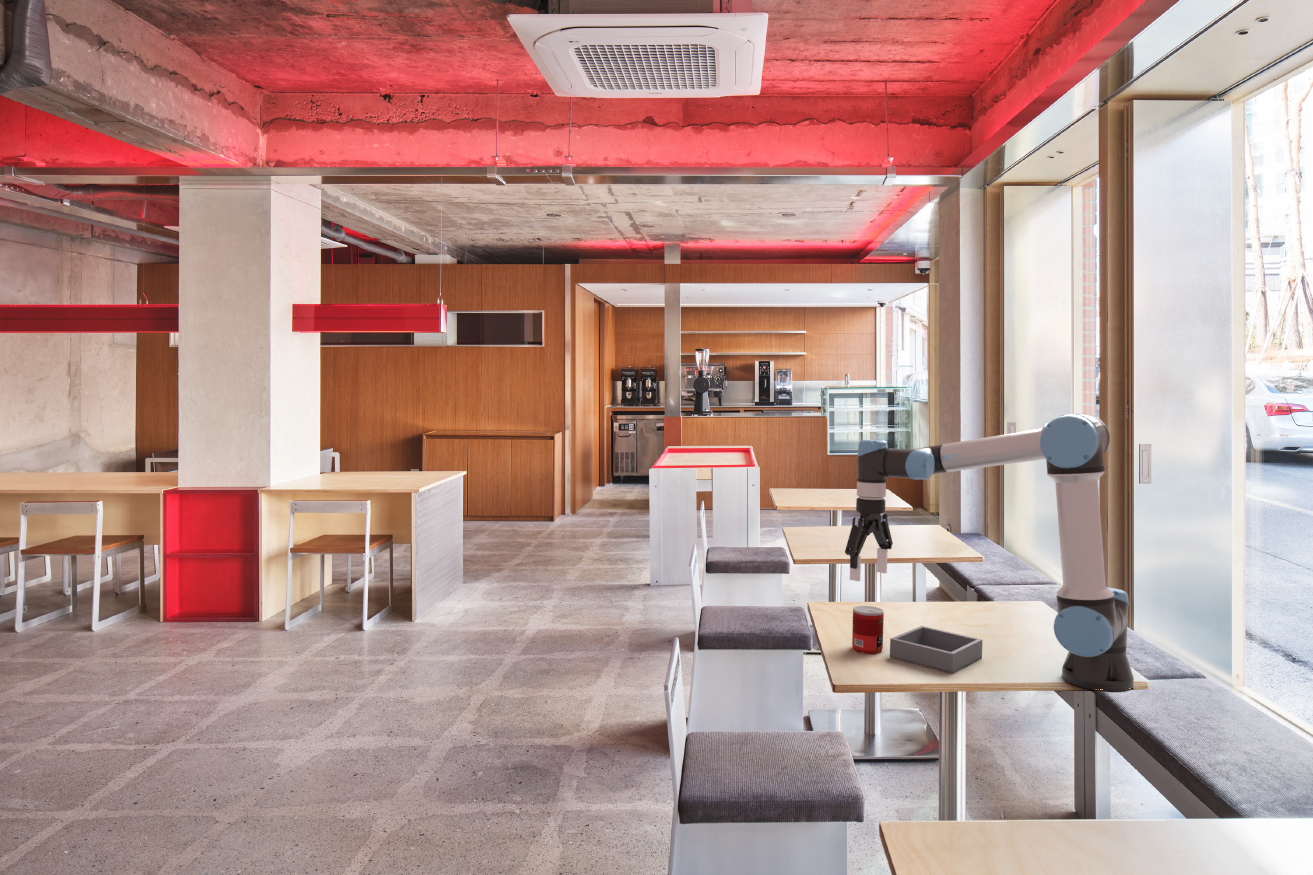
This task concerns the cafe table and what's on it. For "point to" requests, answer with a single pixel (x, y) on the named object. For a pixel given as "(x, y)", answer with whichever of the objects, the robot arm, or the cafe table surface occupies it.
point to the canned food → (867, 629)
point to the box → (936, 649)
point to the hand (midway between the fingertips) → (868, 576)
